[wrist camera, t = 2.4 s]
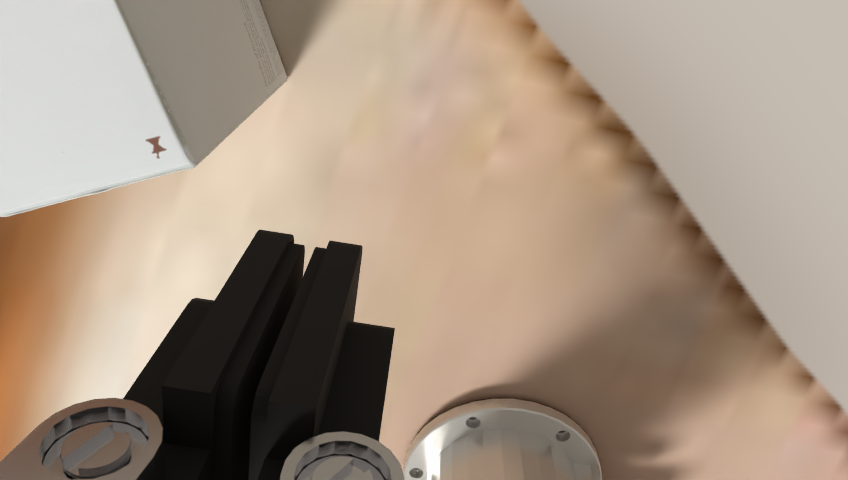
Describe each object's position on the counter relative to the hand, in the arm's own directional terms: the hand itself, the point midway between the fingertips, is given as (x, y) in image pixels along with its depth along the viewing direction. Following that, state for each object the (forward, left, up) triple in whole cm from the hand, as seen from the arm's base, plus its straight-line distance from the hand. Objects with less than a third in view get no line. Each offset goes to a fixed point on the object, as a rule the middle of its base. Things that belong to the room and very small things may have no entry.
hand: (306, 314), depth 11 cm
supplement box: (+10, 0, -22) cm, 24 cm away
